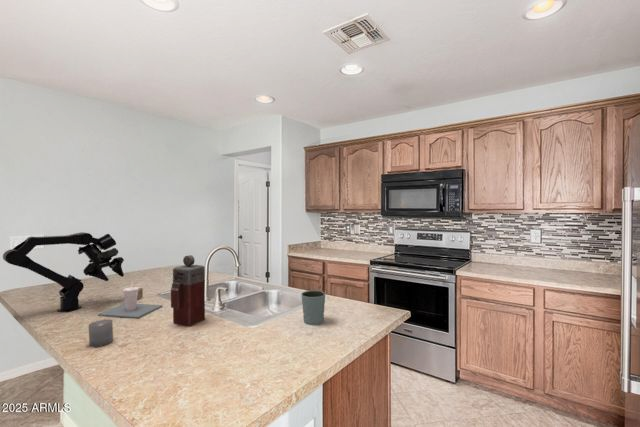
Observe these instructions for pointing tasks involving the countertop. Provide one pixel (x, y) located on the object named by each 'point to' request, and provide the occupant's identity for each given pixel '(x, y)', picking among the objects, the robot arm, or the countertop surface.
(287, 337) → the countertop surface
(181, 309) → the french press
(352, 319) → the countertop surface
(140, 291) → the walnut block
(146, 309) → the slate mat
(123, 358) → the countertop surface
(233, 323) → the countertop surface
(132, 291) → the smoothie
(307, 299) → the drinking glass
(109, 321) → the grey rounded canister
